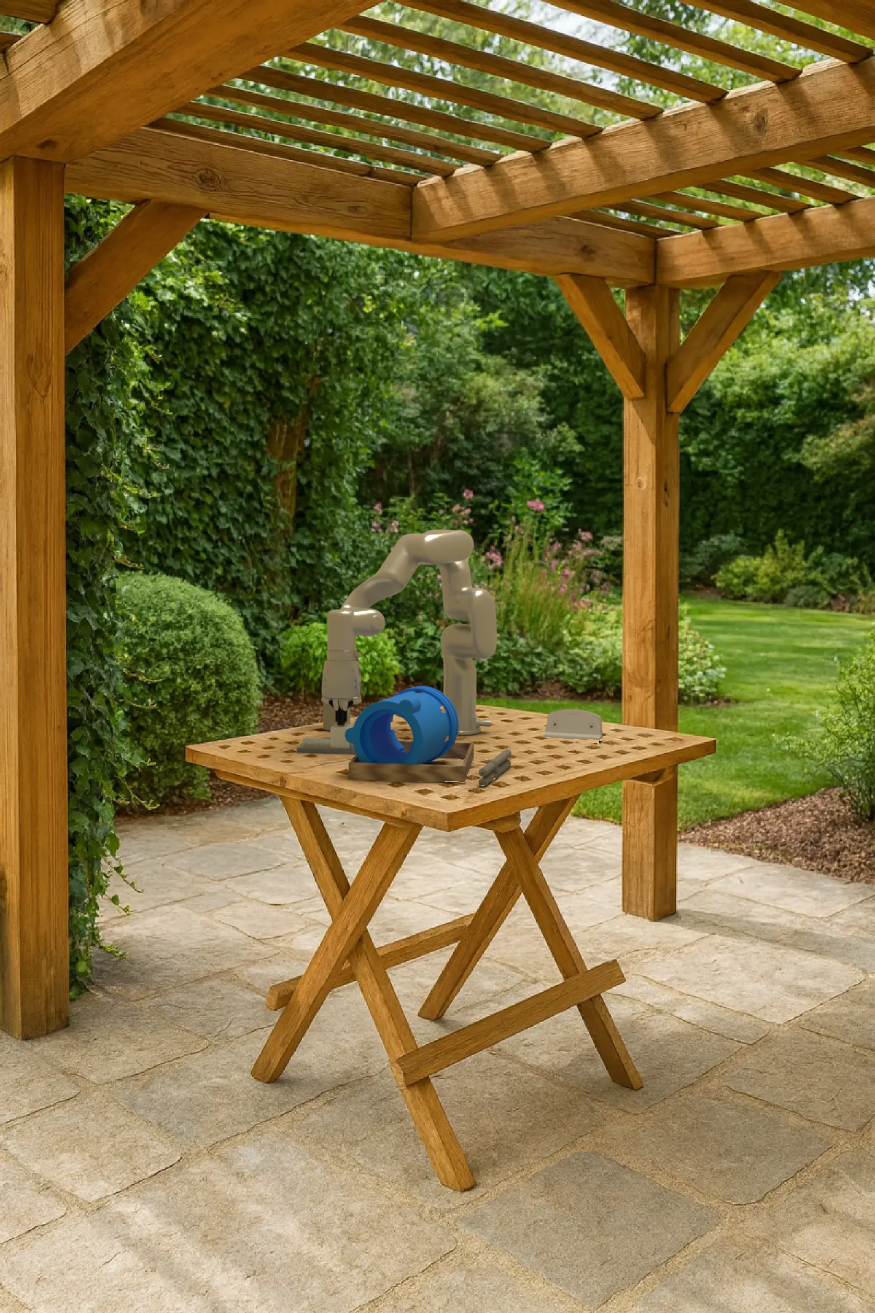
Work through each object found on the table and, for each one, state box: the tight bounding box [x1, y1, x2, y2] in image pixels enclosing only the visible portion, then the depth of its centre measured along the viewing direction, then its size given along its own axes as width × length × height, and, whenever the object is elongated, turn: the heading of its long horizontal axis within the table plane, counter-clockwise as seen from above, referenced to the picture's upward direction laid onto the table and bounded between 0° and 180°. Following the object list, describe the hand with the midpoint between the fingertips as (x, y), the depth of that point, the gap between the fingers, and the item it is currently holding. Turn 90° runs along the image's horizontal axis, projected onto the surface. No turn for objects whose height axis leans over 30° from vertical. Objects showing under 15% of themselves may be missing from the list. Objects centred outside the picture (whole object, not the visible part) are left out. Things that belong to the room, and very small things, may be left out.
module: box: [330, 723, 354, 748], centre depth 322 cm, size 5×6×5 cm
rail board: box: [296, 735, 356, 755], centre depth 323 cm, size 22×10×3 cm, turn 85°
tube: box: [345, 685, 459, 765], centre depth 298 cm, size 25×22×19 cm
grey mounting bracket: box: [543, 708, 604, 740], centre depth 342 cm, size 17×5×10 cm, turn 73°
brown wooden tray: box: [348, 740, 475, 783], centre depth 300 cm, size 28×32×4 cm
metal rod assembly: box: [478, 748, 512, 786], centre depth 291 cm, size 26×3×5 cm, turn 164°
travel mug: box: [322, 699, 351, 732], centre depth 354 cm, size 8×8×18 cm
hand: (341, 724), depth 322 cm, fingers closed
